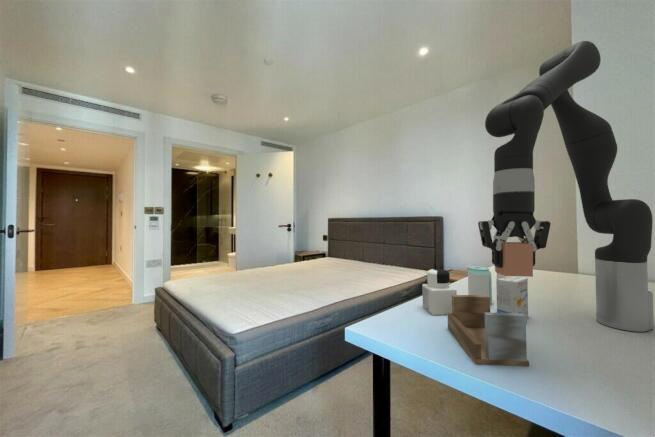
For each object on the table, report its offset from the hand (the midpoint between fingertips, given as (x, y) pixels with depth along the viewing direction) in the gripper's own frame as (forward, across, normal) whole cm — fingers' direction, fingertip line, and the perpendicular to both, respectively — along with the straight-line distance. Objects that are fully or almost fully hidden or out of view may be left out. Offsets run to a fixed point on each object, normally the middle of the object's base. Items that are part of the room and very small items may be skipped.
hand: (513, 267), depth 58 cm
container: (+19, +9, -24) cm, 32 cm away
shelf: (+19, +5, -2) cm, 19 cm away
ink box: (+18, -10, -19) cm, 28 cm away
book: (+2, 0, 0) cm, 2 cm away
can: (+18, -7, -33) cm, 38 cm away
